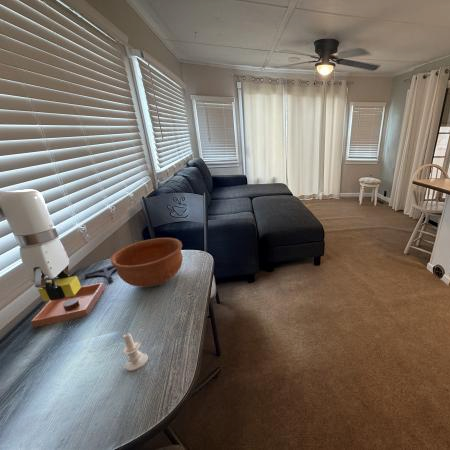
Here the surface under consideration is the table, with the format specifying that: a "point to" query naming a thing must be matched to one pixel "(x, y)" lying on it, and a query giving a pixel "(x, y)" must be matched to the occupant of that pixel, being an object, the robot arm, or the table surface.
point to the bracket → (104, 270)
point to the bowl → (148, 261)
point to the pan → (57, 313)
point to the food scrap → (71, 304)
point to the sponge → (64, 287)
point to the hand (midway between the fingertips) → (62, 292)
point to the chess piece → (133, 354)
